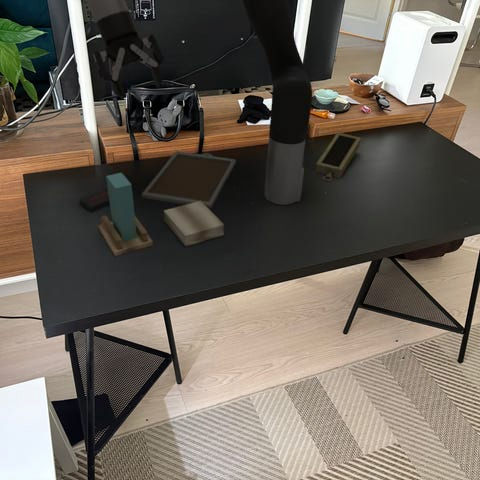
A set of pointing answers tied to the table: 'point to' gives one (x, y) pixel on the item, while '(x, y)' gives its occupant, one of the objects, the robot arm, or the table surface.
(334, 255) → the table surface
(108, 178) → the tall teal prism
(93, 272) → the table surface
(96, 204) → the usb drive
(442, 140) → the table surface
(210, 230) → the block
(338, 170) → the box
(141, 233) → the rack
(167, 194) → the grey framed brown panel
